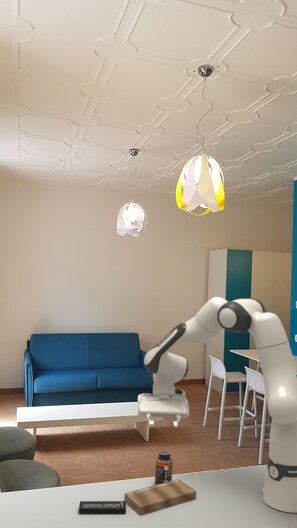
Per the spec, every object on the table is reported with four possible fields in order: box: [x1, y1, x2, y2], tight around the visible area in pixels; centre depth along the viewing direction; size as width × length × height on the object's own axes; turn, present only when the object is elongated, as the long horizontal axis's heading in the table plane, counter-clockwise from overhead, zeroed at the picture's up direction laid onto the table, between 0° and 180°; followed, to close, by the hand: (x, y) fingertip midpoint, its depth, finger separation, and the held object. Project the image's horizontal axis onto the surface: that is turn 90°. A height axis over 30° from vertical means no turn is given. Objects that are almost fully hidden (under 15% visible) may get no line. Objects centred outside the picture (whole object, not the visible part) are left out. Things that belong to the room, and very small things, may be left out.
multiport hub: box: [78, 500, 127, 515], centre depth 141 cm, size 4×14×2 cm, turn 95°
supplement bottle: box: [154, 450, 174, 485], centre depth 160 cm, size 6×6×11 cm
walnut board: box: [123, 478, 197, 516], centre depth 149 cm, size 22×10×3 cm, turn 123°
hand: (163, 426), depth 173 cm, fingers open, 8 cm apart
